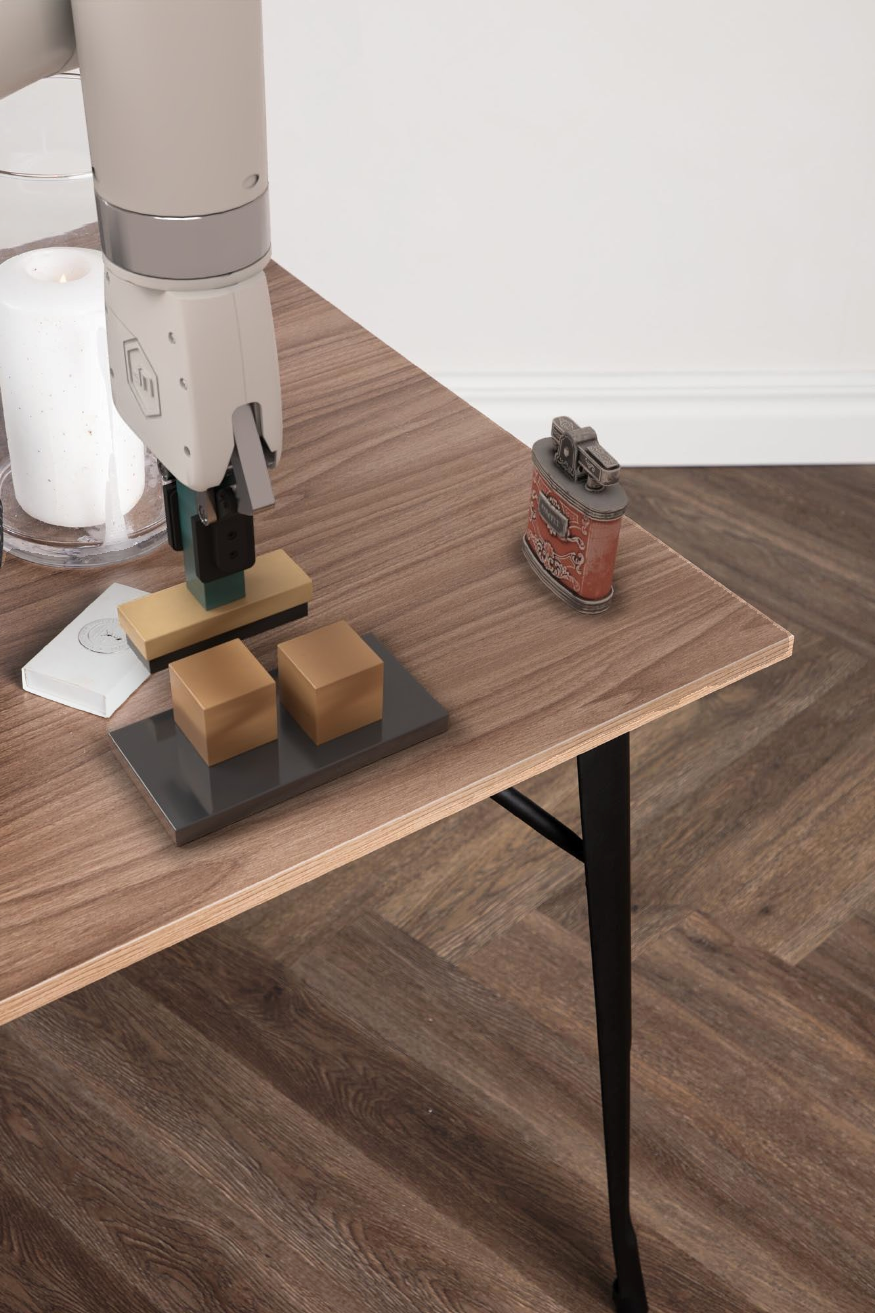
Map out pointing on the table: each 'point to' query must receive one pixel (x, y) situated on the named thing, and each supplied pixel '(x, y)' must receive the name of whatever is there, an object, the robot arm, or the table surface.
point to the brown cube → (330, 681)
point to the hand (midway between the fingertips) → (212, 554)
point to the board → (266, 757)
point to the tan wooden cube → (224, 701)
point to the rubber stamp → (213, 602)
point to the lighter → (574, 516)
